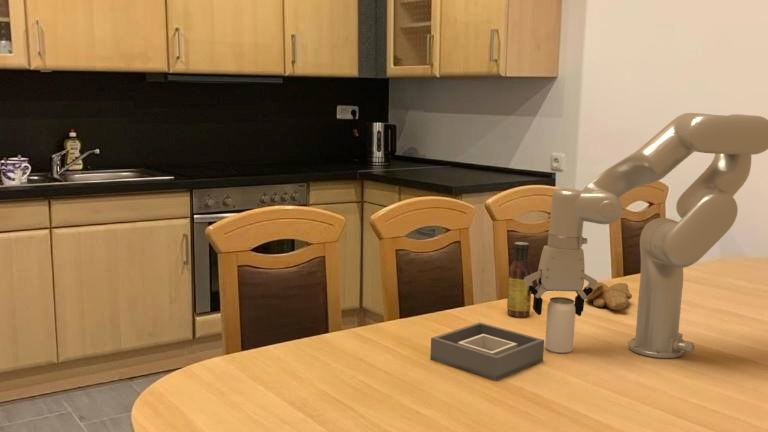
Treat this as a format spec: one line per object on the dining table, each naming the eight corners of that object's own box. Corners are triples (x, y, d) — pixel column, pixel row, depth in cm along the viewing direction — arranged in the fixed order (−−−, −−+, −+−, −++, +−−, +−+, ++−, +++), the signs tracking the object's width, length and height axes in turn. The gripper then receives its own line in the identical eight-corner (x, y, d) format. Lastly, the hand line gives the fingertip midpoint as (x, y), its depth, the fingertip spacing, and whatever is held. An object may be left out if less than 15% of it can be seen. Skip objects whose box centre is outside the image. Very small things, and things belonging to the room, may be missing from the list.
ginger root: (590, 290, 238) (597, 266, 235) (639, 312, 229) (647, 287, 226) (566, 302, 226) (573, 276, 223) (616, 326, 217) (625, 300, 214)
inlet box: (542, 361, 178) (544, 339, 177) (495, 381, 165) (497, 358, 164) (478, 342, 190) (479, 322, 189) (430, 359, 177) (431, 337, 176)
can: (573, 355, 182) (576, 304, 180) (544, 352, 184) (547, 302, 182) (572, 346, 189) (575, 297, 187) (544, 343, 190) (547, 295, 188)
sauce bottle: (531, 318, 211) (535, 246, 208) (508, 318, 211) (512, 245, 208) (527, 312, 217) (531, 241, 214) (505, 311, 217) (508, 240, 214)
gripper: (594, 240, 187) (587, 310, 189) (523, 237, 185) (517, 308, 187) (606, 246, 179) (599, 319, 182) (533, 244, 177) (526, 317, 180)
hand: (557, 313), depth 185 cm, fingers open, 9 cm apart
